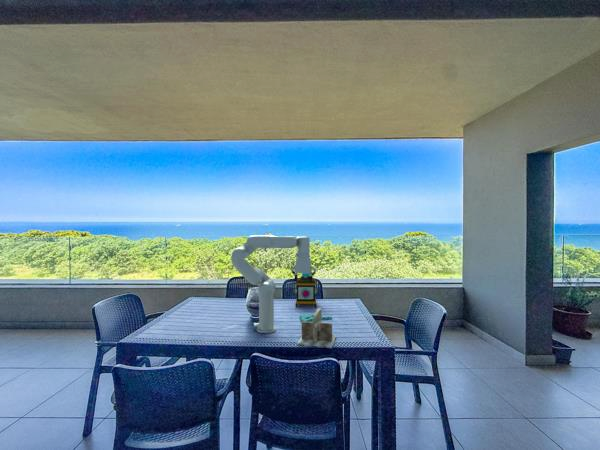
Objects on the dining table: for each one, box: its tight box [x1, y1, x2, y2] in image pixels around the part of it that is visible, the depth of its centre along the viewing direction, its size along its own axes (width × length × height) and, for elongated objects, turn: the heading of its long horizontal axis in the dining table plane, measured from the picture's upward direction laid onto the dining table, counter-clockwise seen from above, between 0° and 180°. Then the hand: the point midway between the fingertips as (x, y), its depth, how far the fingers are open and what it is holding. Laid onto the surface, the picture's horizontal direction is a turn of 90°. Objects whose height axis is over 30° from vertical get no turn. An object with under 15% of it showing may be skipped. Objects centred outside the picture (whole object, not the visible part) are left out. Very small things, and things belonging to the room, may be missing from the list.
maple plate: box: [313, 307, 323, 343], centre depth 193 cm, size 2×16×16 cm, turn 166°
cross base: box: [296, 321, 337, 349], centre depth 192 cm, size 20×18×11 cm
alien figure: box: [298, 313, 333, 323], centre depth 235 cm, size 20×2×20 cm
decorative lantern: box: [293, 273, 318, 309], centre depth 277 cm, size 20×20×30 cm
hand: (303, 281), depth 210 cm, fingers open, 9 cm apart
